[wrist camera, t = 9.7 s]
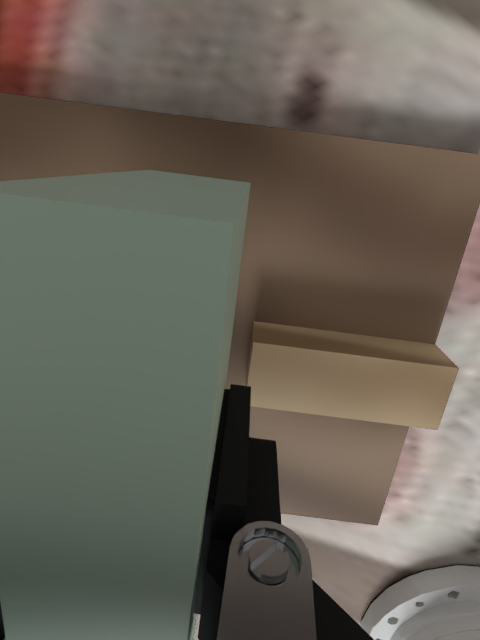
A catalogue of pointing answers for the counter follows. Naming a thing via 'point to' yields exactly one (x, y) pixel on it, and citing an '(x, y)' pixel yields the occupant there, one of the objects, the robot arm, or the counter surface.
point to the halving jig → (303, 277)
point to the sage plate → (111, 396)
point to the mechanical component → (428, 607)
